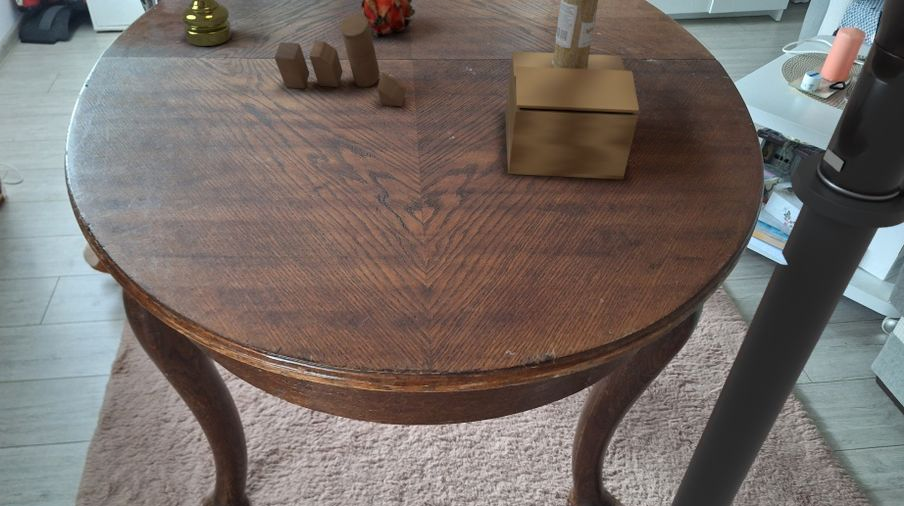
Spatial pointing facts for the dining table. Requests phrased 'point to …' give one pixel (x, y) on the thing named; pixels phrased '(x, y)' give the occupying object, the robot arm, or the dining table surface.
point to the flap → (576, 89)
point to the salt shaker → (206, 23)
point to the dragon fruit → (387, 15)
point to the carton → (566, 131)
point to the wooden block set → (329, 63)
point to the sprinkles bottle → (574, 33)
